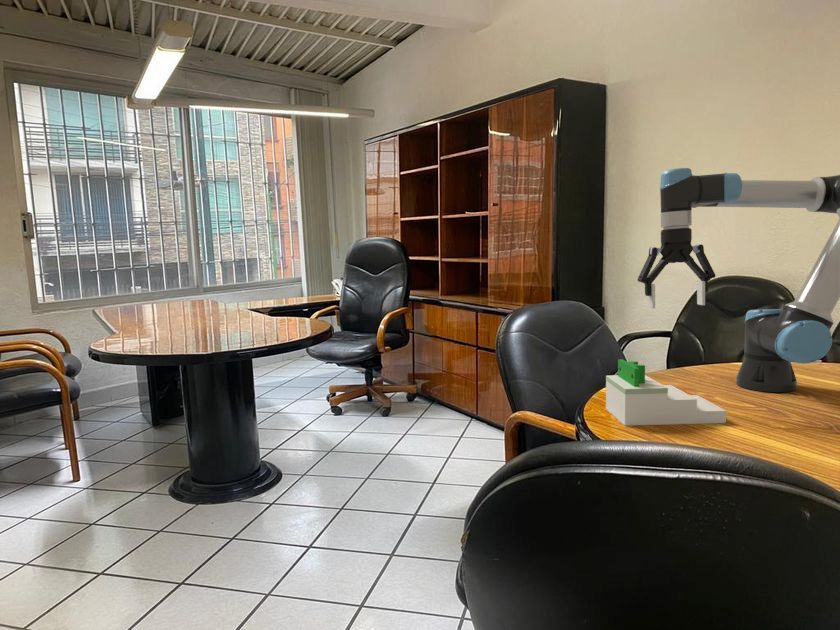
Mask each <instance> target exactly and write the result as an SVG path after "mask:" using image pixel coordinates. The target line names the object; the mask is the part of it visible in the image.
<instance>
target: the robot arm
mask: <svg viewBox="0 0 840 630" xmlns="http://www.w3.org/2000/svg"><path fill="white" fill-rule="evenodd" d="M659 185H660V186H659V193H660V194H659V195H660V228H662V229H661V230H660V247H659V248H658V247H656V246H655V247H654V246H653V247H650V248H649V249H648V255H647V258H646V261H645V263H644V265H643V266H642V268H641V271H640V273H639V275H638V278H637V282H639V283H642V284H643V285H644V295H645V296H646V297H647V308H649V309H656V284H655V283H653V282H654V281H655V280H656V279H657V277H658V276H659V275H660V274H661V272H662V271H663V270H664V269H665V267H666V266H667V265H668V264H675V263H684V264H686V265H687V266H688V268H690V270H691V271H692V272H693V273H694V275H696V277H697V278H698V279H699V280H696V305H698V306H706V293H708V291H709V282H710V281H711V280H712V279H714V278H716V273H715V272H714V269H713V267H712V265H711V264H710V261H709V260H708V258H707V256H706V253H705V249H704V245H703V244H695V245H692V237H693V235H692V228H690V227H691V226H692V225H693V224H692V222H693V221H692V211H693V210H692V209H693V208H698V207H699V208H700V207H702V208H705V207H707V208H771V209H773V208H774V209H776V208H777V209H778V208H779V209H780V208H781V209H782V208H783V209H806V210H807V211H808V212H811V213H812V212H813V213H828V214H837V216H838V218H839V219H838V221H837V223H836V225H835V226H834V229H833V230H832V232H831V234H830V235H829V238H828V240H827V241H826V242H825V245H824V246H823V249H822V250H821V252H820V254H819V256H818V258H817V260H816V261H815V263H814V265H813V266H812V268H811V270H810V272H809V275H808V276H807V278H806V280H805V282H804V283H803V285H802V286H801V289H800V290H799V292H798V294H797V296H796V297H795V299H794V300H793V301H791V302H789V303H786V304H784V306H783V308H776V309H775V308H771V309H770V308H769V309H767V308H766V309H750V310H749V309H748V310H747V312H746V313H745V319H744V348H743V349H744V350H743V352H744V353H743V361H742V362H741V365H740V368H739V370H738V372H737V375H736V376H735V377H736V379H735V381H736V383H735V384H736V385H737V386H738V387H741V388H744V389H748V390H751V391H752V390H753V391H758V392H766V393H767V392H769V393H789V392H790V393H791V392H794V391H796V390H797V388H798V381H797V377H796V374H795V371H794V368H793V366H792V365H793V364H792V363H796V364H811V363H814V362H817V361H819V360H821V359H823V357H825V356H826V355H827V354H828V353H829V352H830V349H831V347H832V345H833V337H832V332H831V328H832V327H833V325H834V323H835V322H834V319H833V318H832V312H833V311H834V309H835V307H836V305H837V304H838V302H839V300H840V174H837V175H836V174H835V175H832V176H831V175H830V176H815V177H813V178H811V179H810V180H766V179H765V180H747V179H745V180H742V178H741V176H740V175H739V174H738V173H736V172H732V173H731V172H729V173H728V172H724V173H713V174H704V175H703V174H701V175H693V173H692V169H691V168H690V167H679V168H670V169H667V170H664V171H662V173H661V174H660V184H659ZM692 252H693V254H694V255H695V257H696V259H697V260H698V262H699V264H700V266H701V267H700V266H699V265H698V263H697V262H696V261H695V259H694V258H693V256H691V253H692ZM659 254H660V255H661V256H662V257H661V258H660V259H659V260H658V262H657V263H656V265H655V266H654V264H655V262H656V259H657V256H659ZM653 266H654V267H653ZM652 268H653V269H652Z"/></svg>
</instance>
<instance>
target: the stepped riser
mask: <svg viewBox="0 0 840 630" xmlns="http://www.w3.org/2000/svg"><path fill="white" fill-rule="evenodd" d="M605 410H607V411H608V412H609V413H610V415H613V416H614V418H616V420H618V421H619V422H620V423H621V424H622V425H623V426H624V427H625V426H629V427H631V426H659V425H660V426H662V425H663V426H666V425H700V424H701V425H702V424H726V423H727V410H725V408H722V407H720V406H718V405H716V404H714V403H713V402H710V401H709V400H708V399H705V398H704V397H702V396H700V395H698V394H697V395H695V394H693V395H690V394H688V393H686V392H684V391H683V390H680V389H679V388H677V387H675V386H673V385H672V384H661V383H660V382H658V381H657V380H655V379H653V378H652V377H649V376H648V375H646V374H645V383H640V384H639V387H634V386H632V385H631V384H629V383H628V382H626V381H625V380H623V379H622V378H620V377H619V376H618V374H615V375H614V374H613V375H605Z"/></svg>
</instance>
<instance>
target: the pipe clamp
mask: <svg viewBox="0 0 840 630" xmlns="http://www.w3.org/2000/svg"><path fill="white" fill-rule="evenodd" d="M617 375H618V376H619V377H620V378H622V379H623V380H625V381H626V382H628V383H629V384H631V385H632V386H634V387H639V384H640V383H645V375H646V365H645V364H639V362H638V361H626V360H625V359H617Z"/></svg>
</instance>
